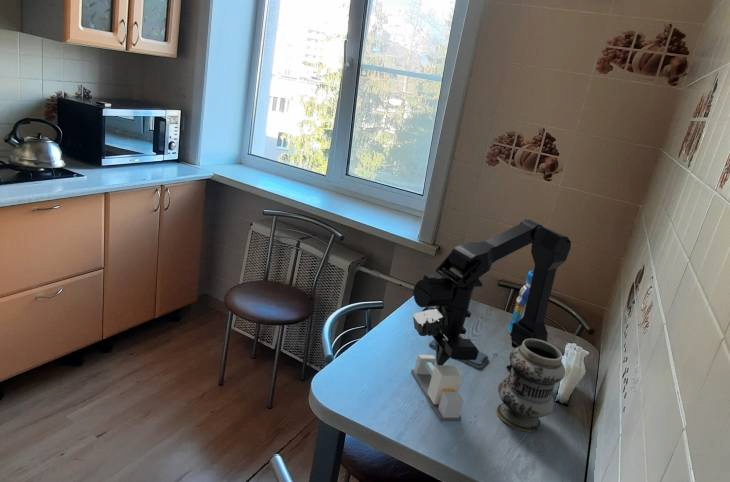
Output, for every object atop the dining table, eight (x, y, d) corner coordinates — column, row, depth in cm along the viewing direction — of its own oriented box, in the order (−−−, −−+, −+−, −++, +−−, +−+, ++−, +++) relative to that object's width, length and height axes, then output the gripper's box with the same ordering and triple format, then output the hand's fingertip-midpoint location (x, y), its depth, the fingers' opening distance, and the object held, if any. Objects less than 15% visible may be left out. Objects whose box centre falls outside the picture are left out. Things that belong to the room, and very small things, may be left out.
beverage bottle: (515, 325, 165) (533, 267, 159) (539, 337, 160) (559, 278, 154) (502, 331, 159) (520, 271, 153) (526, 344, 154) (546, 282, 148)
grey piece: (429, 372, 128) (434, 353, 126) (460, 420, 112) (466, 399, 110) (411, 372, 126) (415, 353, 125) (439, 420, 110) (445, 399, 109)
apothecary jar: (523, 441, 109) (549, 367, 103) (480, 407, 118) (502, 337, 112) (556, 427, 116) (582, 357, 111) (514, 396, 125) (535, 330, 120)
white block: (447, 393, 118) (455, 365, 116) (454, 404, 115) (462, 376, 113) (427, 393, 117) (434, 365, 115) (433, 404, 113) (441, 375, 111)
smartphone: (439, 334, 147) (489, 355, 140) (437, 340, 148) (488, 360, 141) (428, 343, 141) (480, 365, 134) (426, 349, 141) (479, 371, 134)
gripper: (407, 282, 119) (393, 342, 124) (438, 322, 103) (421, 389, 107) (451, 286, 123) (435, 344, 128) (488, 325, 106) (469, 390, 111)
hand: (439, 365), depth 118 cm, fingers closed
